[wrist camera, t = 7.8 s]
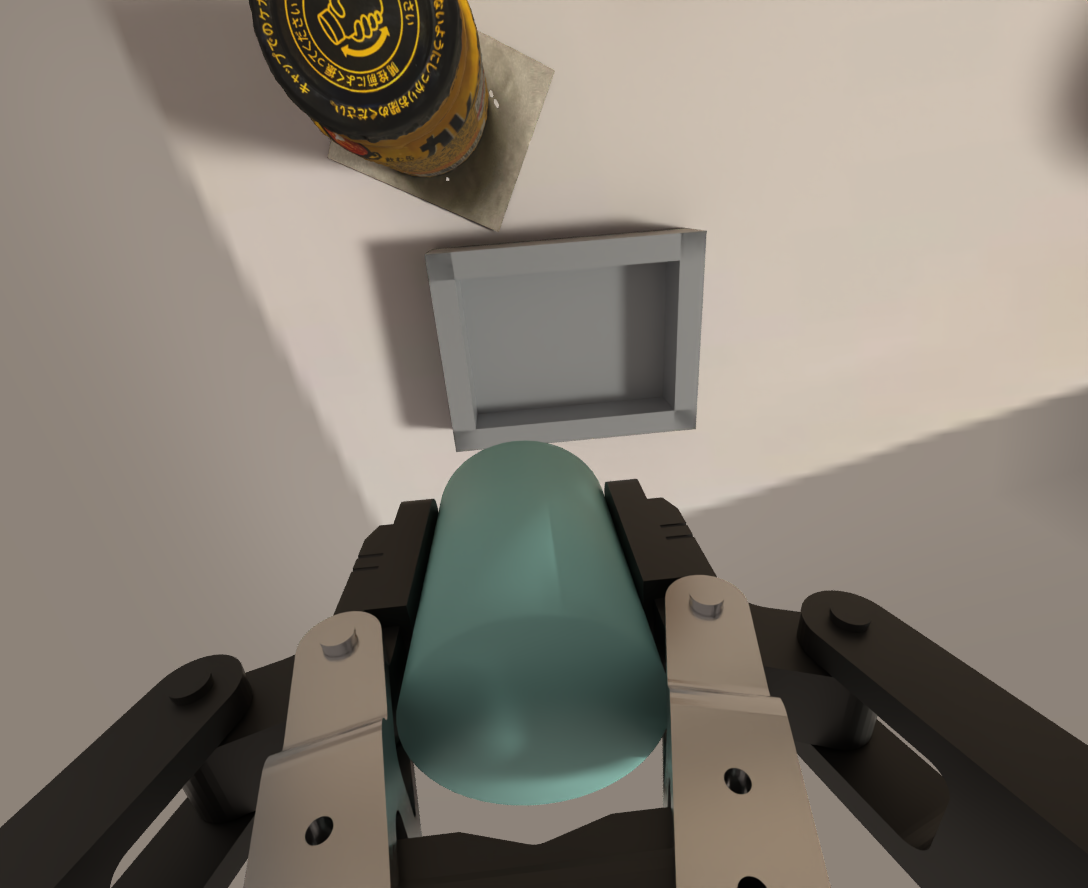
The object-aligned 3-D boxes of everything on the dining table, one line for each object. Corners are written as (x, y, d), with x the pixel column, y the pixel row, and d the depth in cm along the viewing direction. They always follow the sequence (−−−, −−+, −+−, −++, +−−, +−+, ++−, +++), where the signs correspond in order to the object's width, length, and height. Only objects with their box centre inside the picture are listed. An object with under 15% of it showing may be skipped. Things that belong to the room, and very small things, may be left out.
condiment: (368, -25, 22) (232, -255, 11) (554, 71, 24) (597, -42, 13) (328, 158, 24) (187, 121, 13) (498, 232, 26) (493, 251, 15)
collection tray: (432, 249, 26) (424, 254, 24) (685, 227, 27) (706, 230, 24) (460, 429, 30) (456, 452, 28) (678, 409, 31) (695, 428, 28)
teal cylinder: (426, 449, 12) (368, 632, 7) (603, 432, 12) (676, 599, 7) (453, 589, 13) (422, 818, 8) (607, 573, 13) (668, 789, 8)
